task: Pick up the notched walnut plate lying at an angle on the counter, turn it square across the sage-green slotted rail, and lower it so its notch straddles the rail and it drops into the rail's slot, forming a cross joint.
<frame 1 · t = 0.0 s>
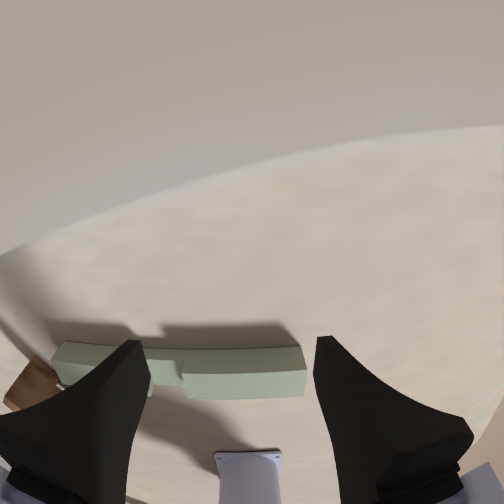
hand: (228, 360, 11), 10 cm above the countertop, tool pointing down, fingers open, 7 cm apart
slotted rail: (171, 362, 24), on the countertop
walnut plate: (74, 392, 26), on the countertop
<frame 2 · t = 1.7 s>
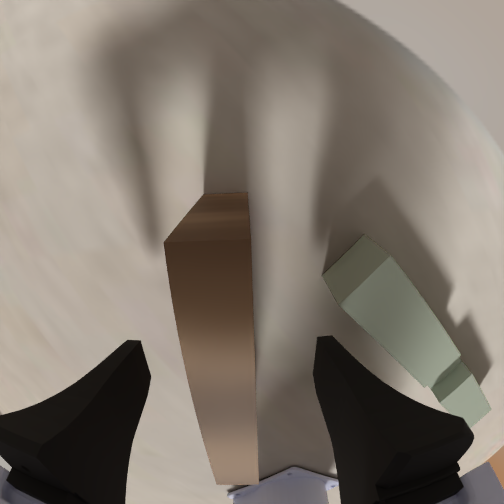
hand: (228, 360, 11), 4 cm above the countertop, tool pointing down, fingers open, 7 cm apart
slotted rail: (430, 354, 17), on the countertop
walnut plate: (232, 310, 15), on the countertop
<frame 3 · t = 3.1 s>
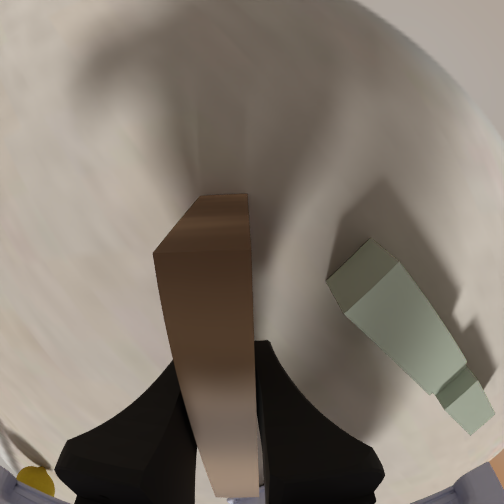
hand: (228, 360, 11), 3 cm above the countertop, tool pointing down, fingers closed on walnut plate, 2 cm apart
slotted rail: (435, 360, 16), on the countertop
walnut plate: (231, 317, 14), on the countertop, touching gripper
lemon: (44, 466, 23), on the countertop
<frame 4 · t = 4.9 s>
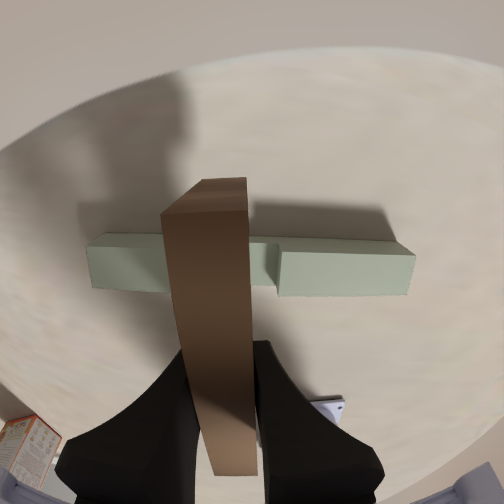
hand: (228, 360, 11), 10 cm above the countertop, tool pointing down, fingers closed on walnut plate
slotted rail: (252, 256, 21), on the countertop
walnut plate: (230, 296, 15), point 6 cm above the countertop, touching gripper
cracker box: (33, 428, 30), on the countertop
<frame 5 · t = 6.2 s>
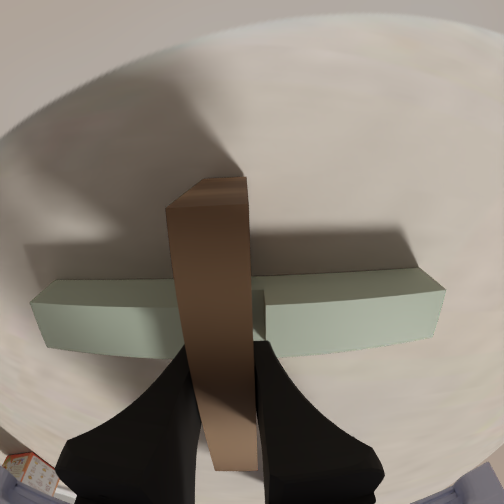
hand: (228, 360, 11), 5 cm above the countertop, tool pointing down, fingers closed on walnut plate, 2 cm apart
slotted rail: (232, 302, 16), on the countertop
walnut plate: (231, 294, 16), on the countertop, touching gripper
cracker box: (33, 463, 26), on the countertop
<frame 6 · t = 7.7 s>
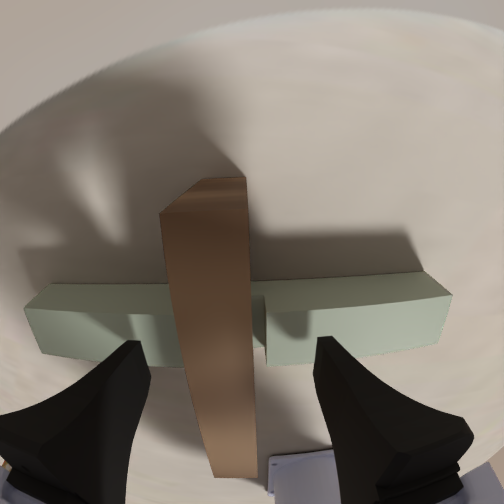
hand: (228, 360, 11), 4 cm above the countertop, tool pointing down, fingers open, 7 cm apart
slotted rail: (231, 308, 15), on the countertop
walnut plate: (230, 297, 15), on the countertop, touching slotted rail
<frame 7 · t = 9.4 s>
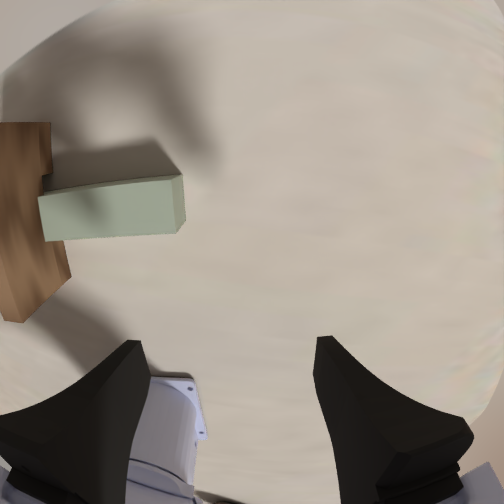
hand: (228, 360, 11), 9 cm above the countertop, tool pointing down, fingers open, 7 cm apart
slotted rail: (48, 211, 18), on the countertop
walnut plate: (47, 203, 18), on the countertop, touching slotted rail
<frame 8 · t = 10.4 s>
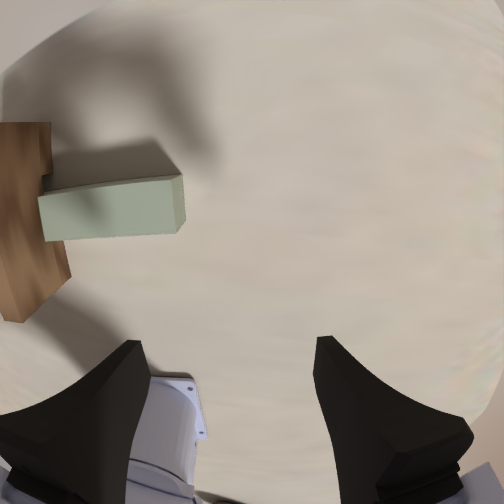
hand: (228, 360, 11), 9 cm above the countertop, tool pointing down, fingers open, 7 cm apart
slotted rail: (48, 211, 18), on the countertop
walnut plate: (47, 203, 18), on the countertop, touching slotted rail
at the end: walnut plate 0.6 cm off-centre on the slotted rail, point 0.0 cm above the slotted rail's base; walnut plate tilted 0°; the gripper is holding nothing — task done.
